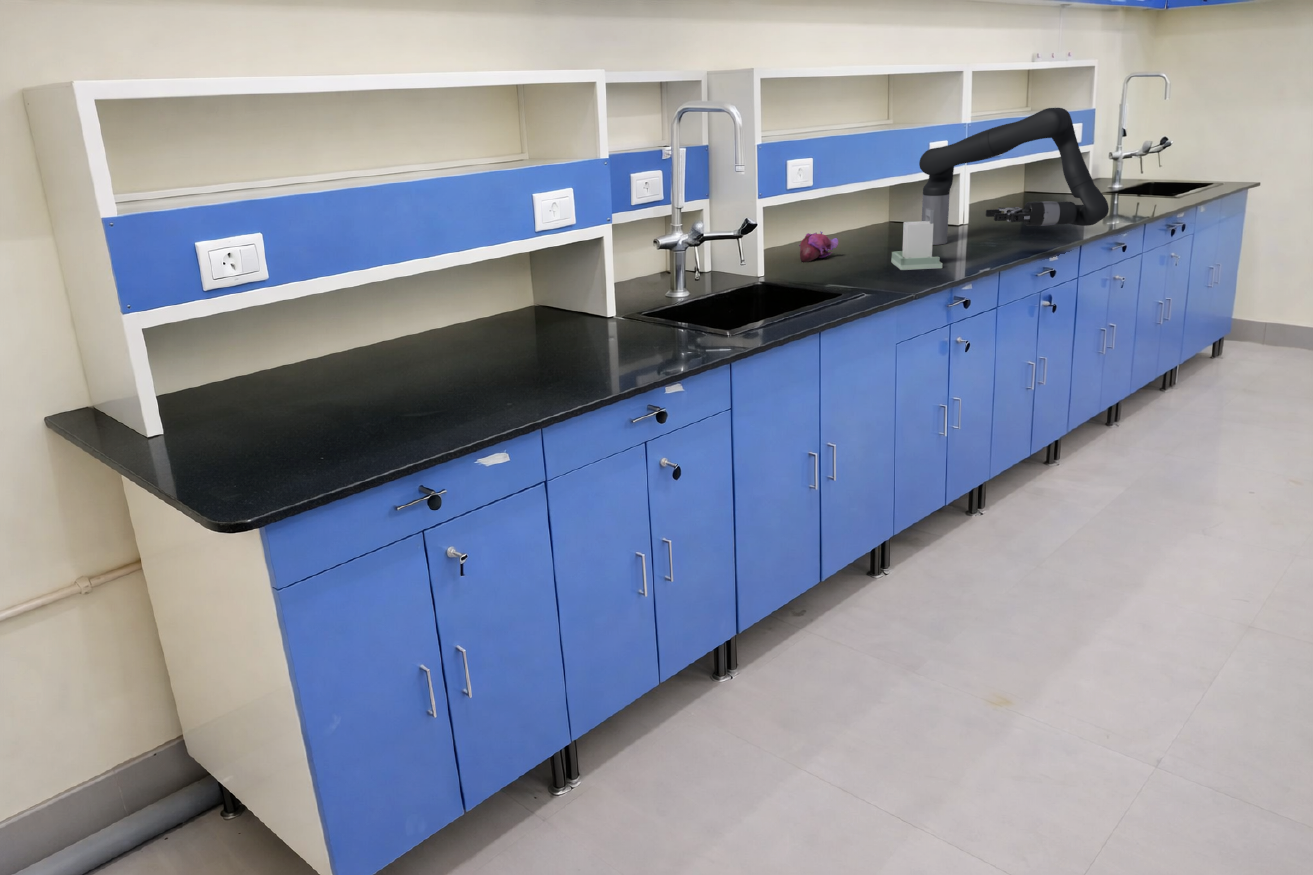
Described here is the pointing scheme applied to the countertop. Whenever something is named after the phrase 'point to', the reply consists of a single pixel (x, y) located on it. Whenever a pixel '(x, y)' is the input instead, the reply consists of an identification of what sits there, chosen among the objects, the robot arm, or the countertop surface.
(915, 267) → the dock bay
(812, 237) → the anatomical model
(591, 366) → the countertop surface
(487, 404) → the countertop surface
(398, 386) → the countertop surface
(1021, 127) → the robot arm
